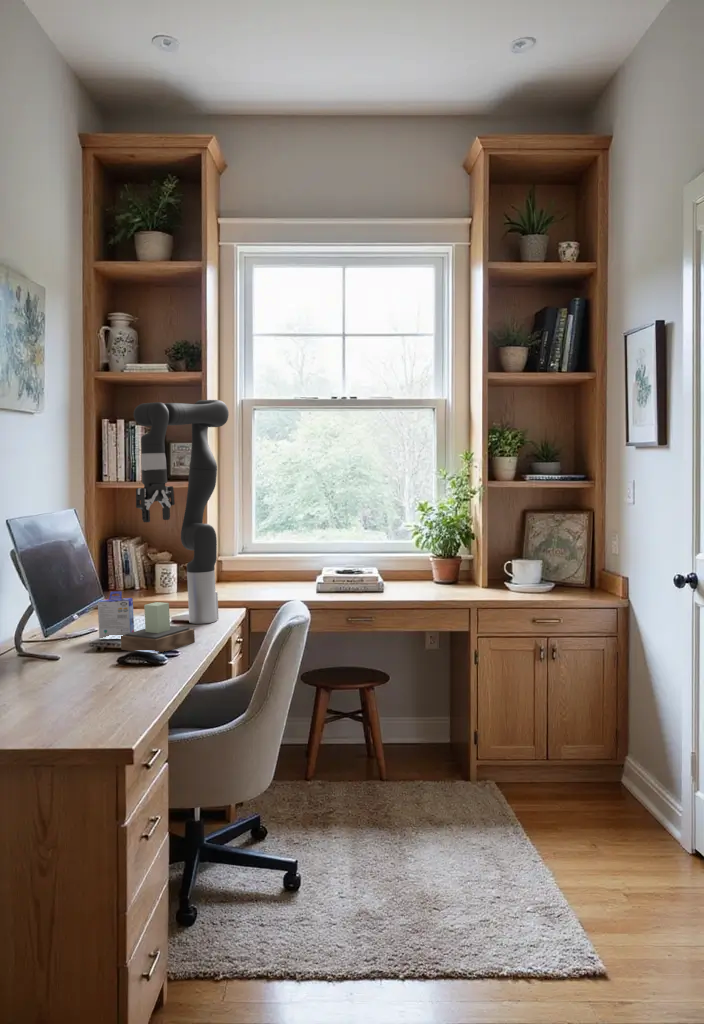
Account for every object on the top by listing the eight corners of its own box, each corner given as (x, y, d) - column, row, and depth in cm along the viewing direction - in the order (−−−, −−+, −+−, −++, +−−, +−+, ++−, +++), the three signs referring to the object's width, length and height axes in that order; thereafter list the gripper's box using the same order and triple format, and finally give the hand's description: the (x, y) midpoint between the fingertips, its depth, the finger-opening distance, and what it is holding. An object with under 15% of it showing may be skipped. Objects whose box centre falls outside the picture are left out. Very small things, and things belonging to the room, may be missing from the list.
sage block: (157, 628, 246) (156, 602, 246) (170, 629, 244) (168, 603, 243) (145, 631, 242) (144, 604, 242) (158, 633, 240) (157, 605, 239)
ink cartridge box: (135, 635, 259) (133, 590, 258) (131, 639, 253) (129, 593, 252) (103, 637, 258) (101, 591, 258) (99, 641, 253) (96, 594, 252)
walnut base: (159, 638, 254) (159, 623, 253) (194, 642, 247) (194, 627, 246) (121, 649, 240) (120, 634, 240) (157, 654, 233) (156, 638, 233)
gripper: (161, 468, 260) (163, 519, 262) (127, 469, 248) (130, 522, 249) (179, 467, 257) (181, 519, 258) (146, 468, 244) (149, 523, 245)
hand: (156, 521), depth 254 cm, fingers open, 8 cm apart
